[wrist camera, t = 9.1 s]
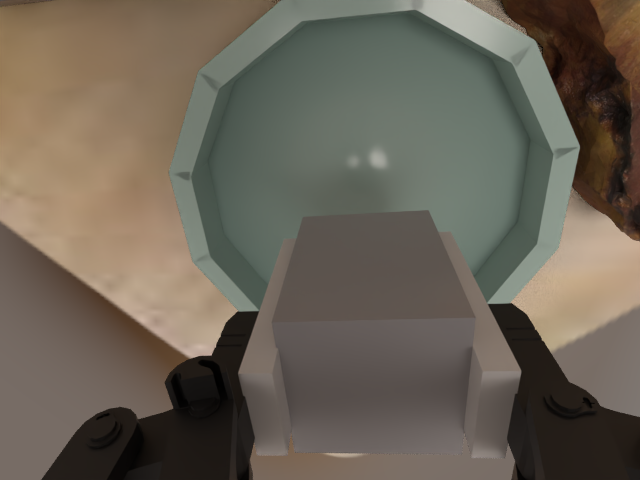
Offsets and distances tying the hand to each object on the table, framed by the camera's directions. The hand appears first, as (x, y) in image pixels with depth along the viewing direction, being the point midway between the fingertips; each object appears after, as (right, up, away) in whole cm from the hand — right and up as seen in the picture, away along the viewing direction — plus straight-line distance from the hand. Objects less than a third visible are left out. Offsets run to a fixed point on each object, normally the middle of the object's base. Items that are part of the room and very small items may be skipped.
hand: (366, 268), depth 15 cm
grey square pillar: (0, 0, 0) cm, 0 cm away
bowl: (+1, +4, +7) cm, 8 cm away
